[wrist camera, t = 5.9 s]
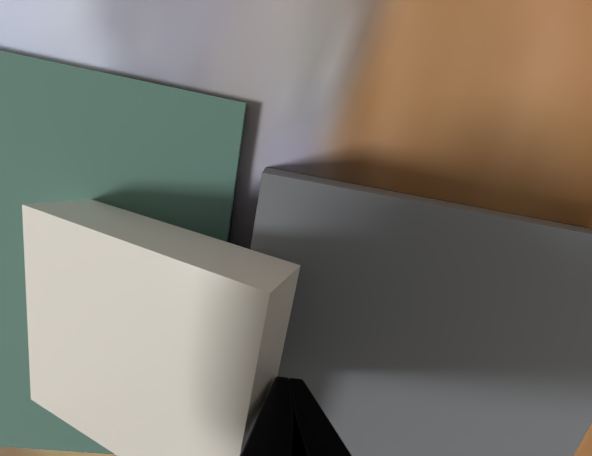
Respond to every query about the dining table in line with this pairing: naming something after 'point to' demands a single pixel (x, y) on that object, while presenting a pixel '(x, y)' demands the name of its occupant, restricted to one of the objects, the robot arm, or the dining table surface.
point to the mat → (98, 188)
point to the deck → (433, 319)
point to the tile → (150, 329)
